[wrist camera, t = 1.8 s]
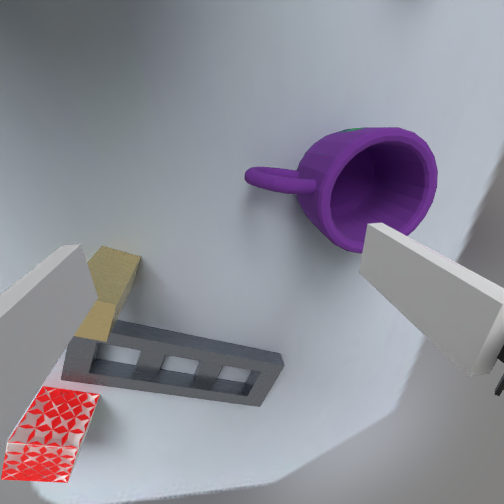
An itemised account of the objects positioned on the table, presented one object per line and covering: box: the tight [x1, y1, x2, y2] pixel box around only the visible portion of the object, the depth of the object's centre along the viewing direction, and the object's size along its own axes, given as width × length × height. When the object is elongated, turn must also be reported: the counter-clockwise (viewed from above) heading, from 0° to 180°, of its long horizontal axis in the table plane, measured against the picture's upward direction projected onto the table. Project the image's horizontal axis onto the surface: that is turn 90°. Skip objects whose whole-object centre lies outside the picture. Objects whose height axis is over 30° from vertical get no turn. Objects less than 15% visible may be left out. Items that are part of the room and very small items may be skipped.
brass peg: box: [74, 246, 141, 342], centre depth 29 cm, size 4×4×10 cm
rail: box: [61, 320, 284, 407], centre depth 40 cm, size 30×10×2 cm, turn 67°
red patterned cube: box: [1, 386, 100, 483], centre depth 38 cm, size 8×8×8 cm
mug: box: [245, 128, 438, 253], centre depth 27 cm, size 17×11×10 cm, turn 83°
